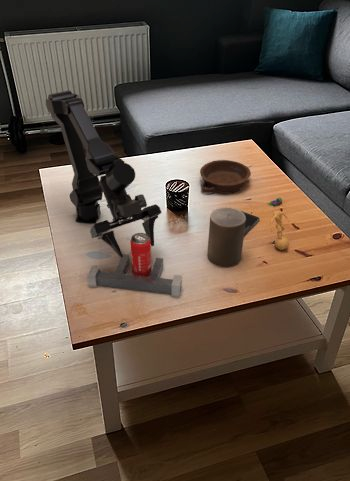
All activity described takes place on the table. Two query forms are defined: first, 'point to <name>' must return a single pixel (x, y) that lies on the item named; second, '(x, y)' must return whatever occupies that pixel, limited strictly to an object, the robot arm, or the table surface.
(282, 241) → the figurine
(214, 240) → the pillar candle
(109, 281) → the rail dock
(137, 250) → the beverage can
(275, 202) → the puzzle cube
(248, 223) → the phone
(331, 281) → the table surface
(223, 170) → the dish
